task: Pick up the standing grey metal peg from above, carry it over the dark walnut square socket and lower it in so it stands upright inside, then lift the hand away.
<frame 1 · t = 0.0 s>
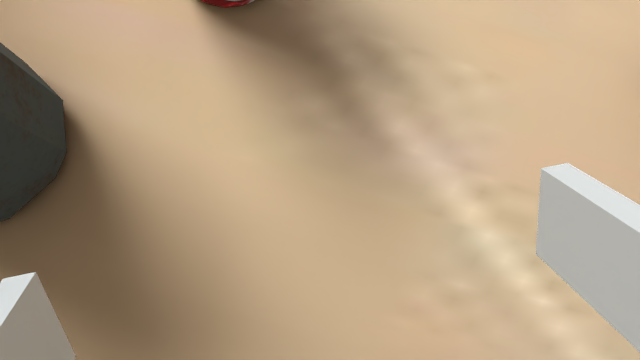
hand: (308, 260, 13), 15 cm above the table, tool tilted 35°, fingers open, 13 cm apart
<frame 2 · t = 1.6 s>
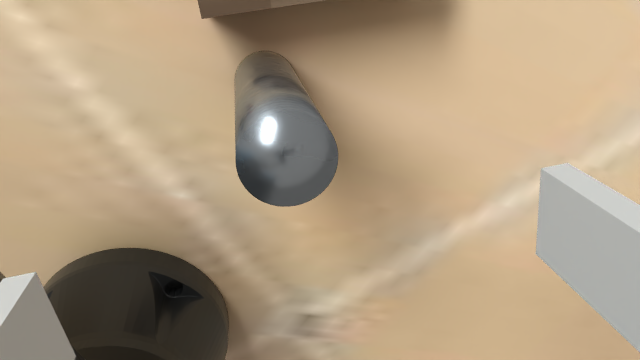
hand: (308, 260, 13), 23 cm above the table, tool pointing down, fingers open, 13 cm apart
peg: (265, 82, 33), on the table
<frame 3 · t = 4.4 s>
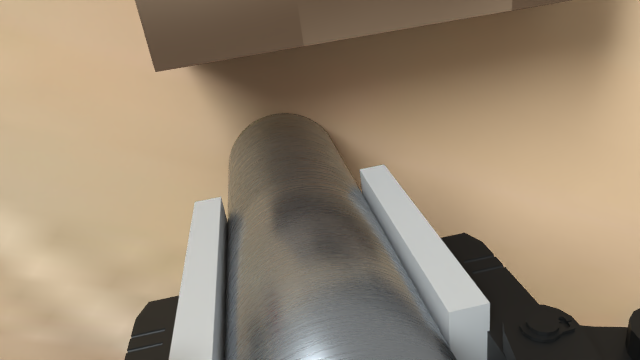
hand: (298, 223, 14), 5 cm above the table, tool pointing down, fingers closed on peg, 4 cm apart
peg: (283, 165, 19), on the table, touching gripper
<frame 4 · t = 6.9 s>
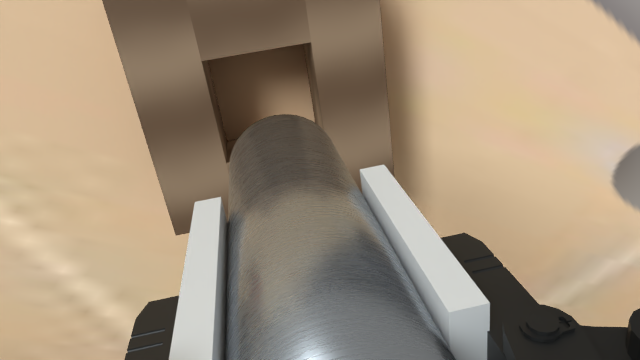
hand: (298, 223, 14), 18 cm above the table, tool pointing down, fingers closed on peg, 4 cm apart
socket: (263, 89, 31), on the table
peg: (284, 166, 19), point 13 cm above the table, touching gripper
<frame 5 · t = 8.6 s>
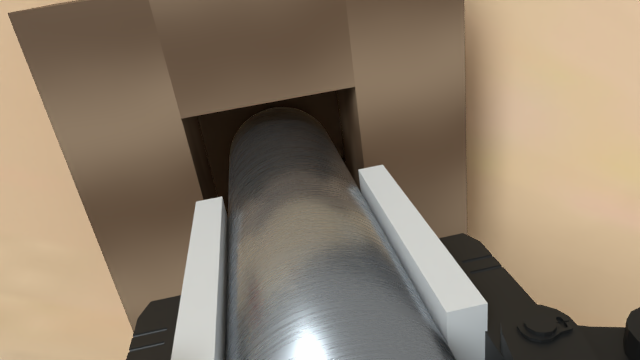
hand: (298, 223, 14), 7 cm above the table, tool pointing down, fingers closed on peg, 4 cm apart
socket: (275, 145, 21), on the table
peg: (281, 157, 20), point 2 cm above the table, touching gripper
when the fingers open (6 cm above the table, at t = 9.6 s): peg stays where it is, resting in socket.
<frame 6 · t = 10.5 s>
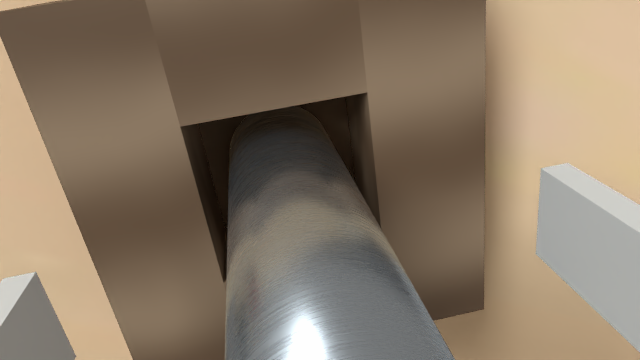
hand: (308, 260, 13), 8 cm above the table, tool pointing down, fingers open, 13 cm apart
socket: (280, 152, 20), on the table
peg: (280, 153, 20), resting in socket
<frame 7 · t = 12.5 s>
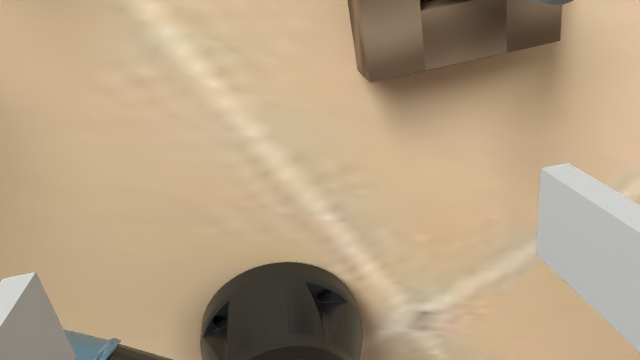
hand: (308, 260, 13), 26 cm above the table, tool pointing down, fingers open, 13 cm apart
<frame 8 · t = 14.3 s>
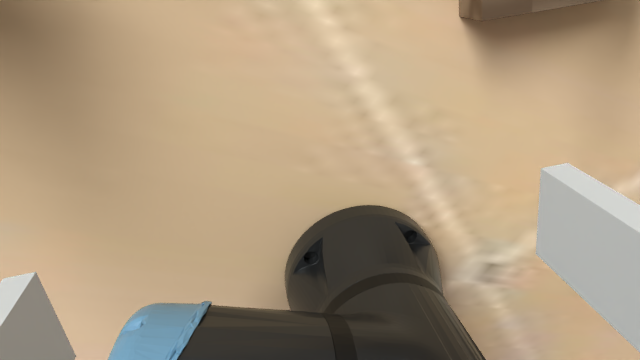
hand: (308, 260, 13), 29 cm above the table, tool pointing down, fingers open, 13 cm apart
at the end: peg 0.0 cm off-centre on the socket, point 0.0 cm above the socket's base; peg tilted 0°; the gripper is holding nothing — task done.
